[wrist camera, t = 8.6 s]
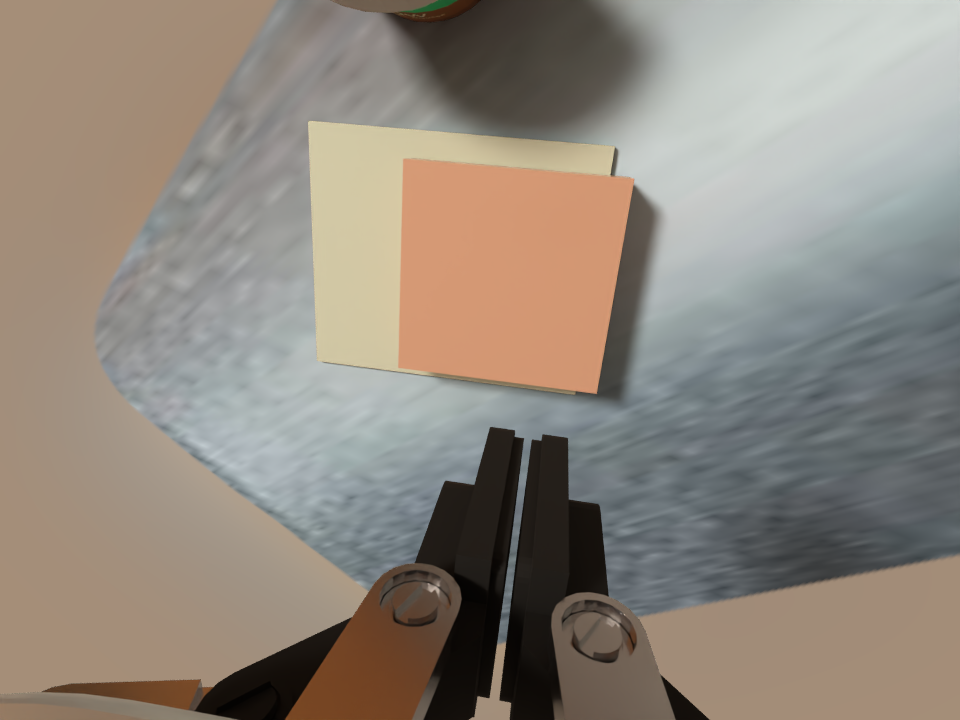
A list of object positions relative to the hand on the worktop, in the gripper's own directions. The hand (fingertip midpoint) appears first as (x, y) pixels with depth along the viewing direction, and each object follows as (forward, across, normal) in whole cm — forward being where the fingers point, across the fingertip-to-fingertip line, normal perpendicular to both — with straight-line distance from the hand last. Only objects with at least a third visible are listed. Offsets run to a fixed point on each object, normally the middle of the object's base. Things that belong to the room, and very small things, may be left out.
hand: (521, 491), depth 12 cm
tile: (+21, -4, 0) cm, 21 cm away
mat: (+23, +6, 0) cm, 24 cm away
